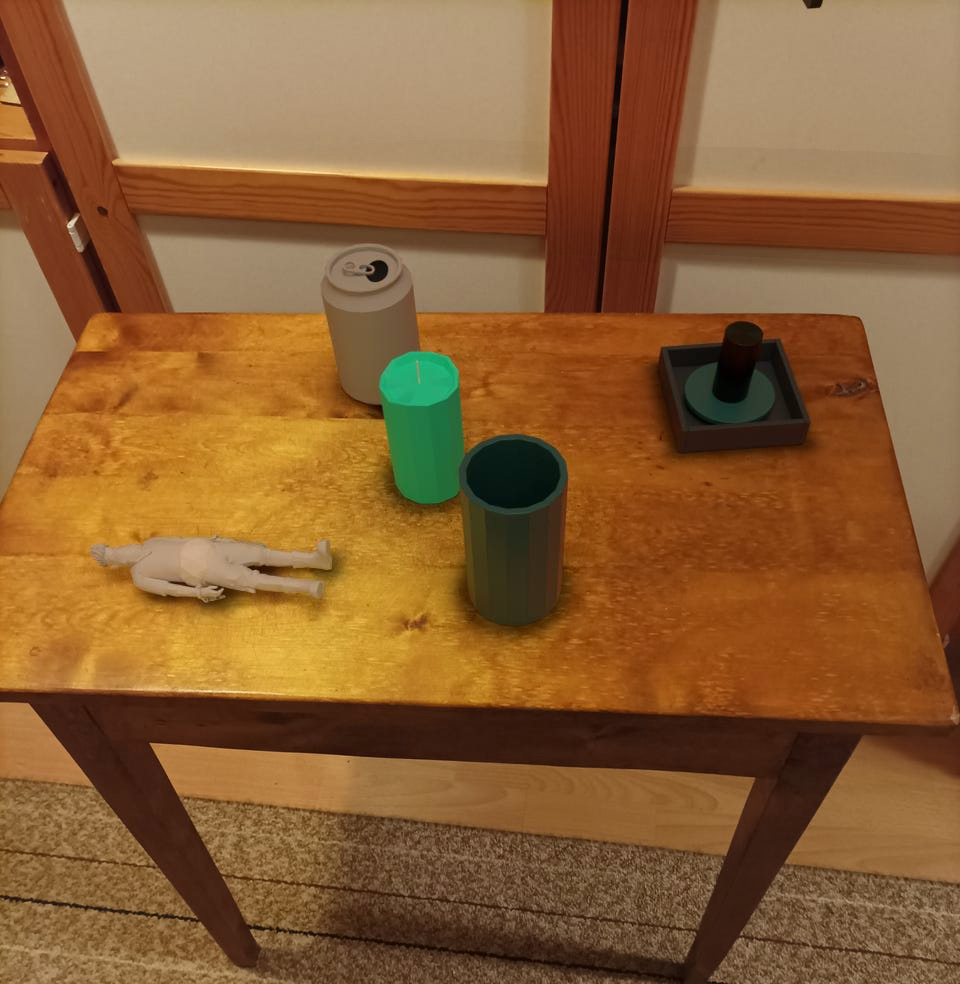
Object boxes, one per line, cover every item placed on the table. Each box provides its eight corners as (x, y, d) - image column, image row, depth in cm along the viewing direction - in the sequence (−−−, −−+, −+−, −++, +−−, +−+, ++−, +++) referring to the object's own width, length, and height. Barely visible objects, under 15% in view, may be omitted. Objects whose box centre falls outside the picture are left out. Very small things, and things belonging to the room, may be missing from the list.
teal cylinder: (555, 548, 71) (561, 430, 60) (565, 622, 67) (573, 509, 57) (466, 555, 71) (456, 437, 60) (470, 629, 67) (461, 517, 57)
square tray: (773, 360, 82) (780, 337, 80) (803, 444, 76) (811, 422, 74) (657, 369, 82) (660, 346, 80) (678, 453, 76) (682, 431, 74)
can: (422, 410, 80) (407, 292, 70) (337, 412, 80) (311, 295, 70) (426, 354, 84) (412, 234, 74) (345, 355, 84) (321, 237, 74)
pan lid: (760, 368, 80) (780, 299, 74) (781, 429, 76) (803, 361, 70) (675, 374, 80) (687, 306, 74) (691, 435, 76) (706, 368, 70)
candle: (432, 440, 78) (419, 323, 68) (481, 476, 75) (475, 359, 65) (380, 478, 76) (358, 362, 66) (428, 516, 73) (414, 402, 63)
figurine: (318, 591, 65) (66, 578, 65) (324, 625, 68) (84, 613, 68) (331, 520, 69) (95, 508, 69) (336, 555, 72) (110, 544, 72)
